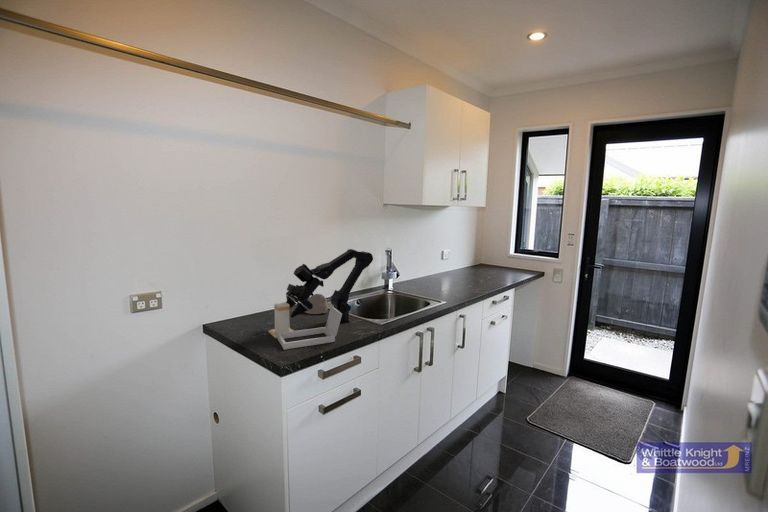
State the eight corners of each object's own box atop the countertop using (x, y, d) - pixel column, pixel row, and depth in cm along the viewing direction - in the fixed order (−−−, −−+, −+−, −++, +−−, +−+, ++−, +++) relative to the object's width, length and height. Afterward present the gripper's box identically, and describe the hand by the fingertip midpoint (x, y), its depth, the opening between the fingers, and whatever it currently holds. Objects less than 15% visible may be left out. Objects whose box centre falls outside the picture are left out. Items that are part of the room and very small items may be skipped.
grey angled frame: (332, 330, 173) (332, 305, 171) (342, 340, 162) (342, 313, 160) (277, 338, 161) (277, 311, 160) (283, 349, 150) (283, 320, 148)
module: (285, 328, 172) (284, 301, 170) (289, 332, 168) (289, 304, 166) (274, 330, 169) (274, 303, 167) (279, 334, 165) (278, 306, 163)
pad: (288, 327, 176) (288, 326, 176) (297, 333, 168) (297, 332, 168) (267, 331, 170) (267, 330, 170) (275, 338, 162) (275, 337, 162)
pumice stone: (299, 312, 199) (299, 295, 198) (305, 309, 207) (305, 291, 205) (324, 315, 196) (325, 297, 194) (330, 311, 203) (330, 294, 201)
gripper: (289, 274, 177) (267, 299, 172) (306, 281, 162) (282, 309, 157) (304, 287, 183) (283, 313, 178) (322, 296, 168) (300, 323, 163)
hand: (287, 314), depth 169 cm, fingers open, 9 cm apart
